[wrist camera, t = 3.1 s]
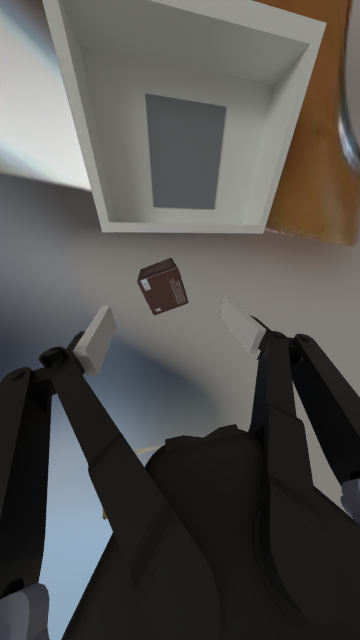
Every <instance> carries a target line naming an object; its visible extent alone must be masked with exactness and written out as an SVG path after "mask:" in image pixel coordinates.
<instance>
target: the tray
mask: <svg viewBox="0 0 360 640" xmlns="http://www.w3.org/2000/svg"><path fill="white" fill-rule="evenodd" d="M42 1H43V5H44V9H45V13H46V17H47V21H48V24H49V28H50V32H51V36H52V40H53V44H54V48H55V51H56V55H57V59H58V63H59V67H60V71H61V74H62V78H63V82H64V86H65V90H66V94H67V98H68V101H69V105H70V109H71V113H72V117H73V121H74V124H75V128H76V132H77V136H78V140H79V144H80V148H81V151H82V155H83V159H84V163H85V167H86V171H87V175H88V178H89V182H90V186H91V190H92V194H93V198H94V201H95V205H96V209H97V212H98V217H99V221H100V224H101V228H102V232H135V233H139V232H140V233H254V234H255V233H256V234H263V233H264V230H265V227H266V223H267V220H268V217H269V213H270V210H271V207H272V203H273V200H274V197H275V193H276V190H277V187H278V183H279V180H280V177H281V173H282V170H283V167H284V163H285V160H286V157H287V153H288V150H289V147H290V143H291V140H292V137H293V133H294V130H295V127H296V123H297V120H298V117H299V113H300V110H301V107H302V103H303V100H304V97H305V93H306V90H307V87H308V83H309V80H310V77H311V73H312V70H313V67H314V63H315V60H316V57H317V53H318V50H319V47H320V43H321V40H322V37H323V33H324V30H325V27H326V23H324V22H321V21H318V20H315V19H311V18H308V17H305V16H301V15H298V14H295V13H292V12H288V11H285V10H282V9H279V8H275V7H272V6H269V5H265V4H262V3H259V2H256V1H252V0H42Z"/></svg>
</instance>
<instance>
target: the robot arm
mask: <svg viewBox="0 0 360 640" xmlns="http://www.w3.org/2000/svg"><path fill="white" fill-rule="evenodd" d="M220 318H221V319H222V321H223V322H224V323H225V325H226V326H227V327H228V328H229V330H230V331H231V332H232V333H233V335H234V336H235V337H236V339H237V340H238V341H239V342H240V344H241V345H242V346H243V348H244V349H245V350H246V351H247V353H248V354H253V353H256V352H257V349H259V350H260V351H261V352H260V354H259V356H258V358H257V360H258V359H259V362H258V370H257V379H256V386H255V395H254V402H253V411H252V419H251V425H250V428H249V431H248V432H246V431H243V430H240V429H238V428H237V425H236V424H234V425H229V426H225V427H220V428H218V429H217V430H215V431H213V432H212V433H210V434H209V435H207V436H206V437H203V438H202V437H193V436H184V435H183V436H179V437H174V438H170V439H166V440H165V442H166V444H165V445H164V446H162V447H161V448H159V449H158V450H157V451H156V452H155V453H154V454H153V455H152V457H151V458H150V459H149V461H148V462H147V464H146V466H145V468H144V466H143V465H142V463H141V462H140V460H139V459H138V457H137V456H136V454H135V453H134V451H133V450H132V448H131V447H130V445H129V444H128V443H127V441H126V439H125V438H124V436H123V435H122V434H121V432H120V431H119V429H118V428H117V426H116V425H115V423H114V422H113V420H112V419H111V417H110V416H109V414H108V413H107V411H106V410H105V408H104V407H103V406H102V404H101V402H100V401H99V399H98V398H97V396H96V395H95V393H94V392H93V390H92V389H91V387H90V386H89V384H88V383H87V382H86V380H85V379H84V377H83V374H84V372H85V373H86V374H87V376H92V375H98V374H99V371H100V368H101V366H102V363H103V360H104V357H105V355H106V352H107V349H108V347H109V344H110V341H111V338H112V336H113V333H114V330H115V328H116V324H115V321H114V318H113V315H112V311H111V308H110V306H102V307H101V309H100V310H99V312H98V314H97V315H96V316H95V318H94V319H93V321H92V322H91V324H90V325H89V327H88V328H87V330H86V331H82V332H80V333H79V334H77V335H76V336H75V337H74V339H73V341H72V342H71V343H70V344H69V346H68V347H67V349H66V350H65V348H63V347H54V348H51V349H49V350H47V351H45V352H44V353H42V354H41V355H40V357H39V361H40V362H41V363H42V364H43V365H44V368H40V369H38V370H34V371H32V370H31V369H30V368H29V367H23V368H19V369H16V370H14V371H12V372H11V373H9V374H7V375H6V376H5V377H4V378H3V379H2V380H1V382H0V640H50V639H49V635H48V628H47V624H48V611H49V594H48V590H47V588H46V587H45V585H43V584H40V583H38V582H39V576H40V570H41V565H42V559H43V551H44V541H45V527H46V505H47V486H48V485H47V484H48V465H49V443H50V423H51V401H52V395H54V394H56V393H57V394H58V397H59V399H60V401H61V403H62V406H63V408H64V410H65V412H66V415H67V417H68V419H69V421H70V424H71V426H72V428H73V430H74V433H75V435H76V437H77V440H78V442H79V444H80V446H81V449H82V451H83V453H84V455H85V457H86V460H87V462H88V466H89V467H88V472H89V476H90V478H91V481H92V483H93V485H94V488H95V490H96V492H97V495H98V497H99V499H100V502H101V504H102V507H103V509H104V511H105V514H106V516H107V518H108V520H109V523H110V525H111V527H112V530H113V533H112V535H111V537H110V540H109V542H108V544H107V546H106V548H105V550H104V552H103V554H102V556H101V558H100V560H99V562H98V565H97V566H96V569H95V571H94V573H93V575H92V577H91V579H90V581H89V583H88V585H87V587H86V589H85V591H84V593H83V595H82V598H81V599H80V602H79V604H78V606H77V608H76V610H75V612H74V614H73V616H72V618H71V620H70V622H69V624H68V626H67V628H66V630H65V633H64V635H63V637H62V639H61V640H360V397H359V396H358V395H357V393H356V392H355V391H354V390H353V388H352V387H351V386H350V385H349V383H348V382H347V381H346V380H345V378H344V377H343V376H342V375H341V373H340V372H339V371H338V369H337V368H336V367H335V366H334V364H333V363H332V362H331V361H330V359H329V358H328V357H327V356H326V354H325V353H324V352H323V350H322V349H321V348H320V347H319V345H318V344H317V343H316V342H315V341H314V340H313V338H311V337H309V336H307V335H304V334H296V336H295V337H294V338H288V337H286V336H285V335H284V334H282V333H280V332H276V331H271V330H270V329H269V328H268V327H266V326H265V325H264V324H263V323H262V322H260V321H259V320H258V319H257V318H255V317H253V316H250V315H249V314H247V313H246V312H245V311H244V310H243V309H242V308H241V307H239V306H238V305H237V304H236V303H235V302H234V301H232V300H231V299H230V298H229V297H228V298H223V302H222V307H221V312H220ZM292 381H293V383H294V385H295V387H296V390H297V392H298V395H299V397H300V399H301V401H302V404H303V406H304V408H305V411H306V413H307V415H308V418H309V420H310V422H311V425H312V427H313V429H314V432H315V434H316V436H317V439H318V441H319V443H320V445H321V448H322V450H323V453H324V455H325V457H326V459H327V461H328V463H329V465H330V467H331V469H332V471H333V473H334V475H335V476H336V478H337V480H338V482H339V483H340V485H341V487H342V493H343V496H341V503H342V506H343V507H344V509H345V510H346V512H347V513H348V514H349V515H350V516H351V517H352V518H353V519H352V518H351V517H350V516H349V515H348V514H346V513H345V512H344V511H343V510H342V509H341V508H339V507H338V506H337V505H336V504H335V503H334V502H332V501H331V500H330V499H329V498H328V497H326V496H325V495H324V494H323V493H322V492H321V491H319V490H318V489H317V488H316V487H315V486H314V485H313V480H312V473H311V467H310V460H309V454H308V447H307V440H306V434H305V427H304V424H303V422H302V420H300V419H298V418H297V417H296V409H295V401H294V393H293V384H292Z"/></svg>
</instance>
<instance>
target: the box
mask: <svg viewBox="0 0 360 640" xmlns="http://www.w3.org/2000/svg"><path fill="white" fill-rule="evenodd" d="M137 283H138V285H139V287H140V289H141V291H142V293H143V295H144V297H145V299H146V301H147V303H148V304H149V307H150V309H151V310H152V313H153V314H154V315H157V314H160V313H162V312H165V311H168V310H171V309H174V308H176V307H179V306H182V305H185V304H187V303H188V300H187V296H186V293H185V289H184V286H183V282H182V280H181V276H180V273H179V270H178V268H177V266H176V264H175V263H174V262H173V260H172V258H169V259H167V260H164V261H162V262H159V263H156V264H154V265H151V266H148V267H146V268H143V269H141V270H140V274H139V277H138V281H137Z"/></svg>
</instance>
